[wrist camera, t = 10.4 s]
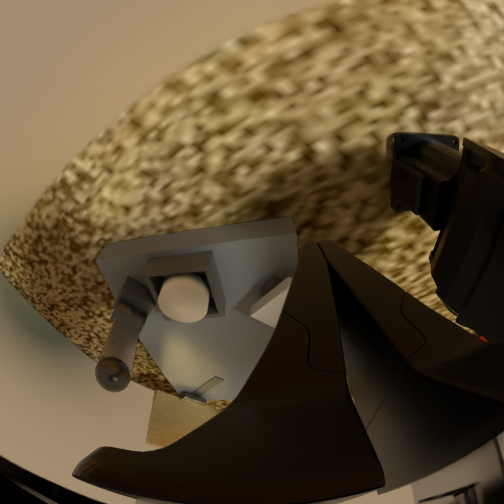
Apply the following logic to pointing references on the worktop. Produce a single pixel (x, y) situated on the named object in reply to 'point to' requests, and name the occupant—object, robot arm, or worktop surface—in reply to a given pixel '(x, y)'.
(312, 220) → the worktop surface
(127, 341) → the steel lever
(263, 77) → the worktop surface
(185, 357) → the panel
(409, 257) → the worktop surface
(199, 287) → the push button
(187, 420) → the brass paddle
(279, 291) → the block
